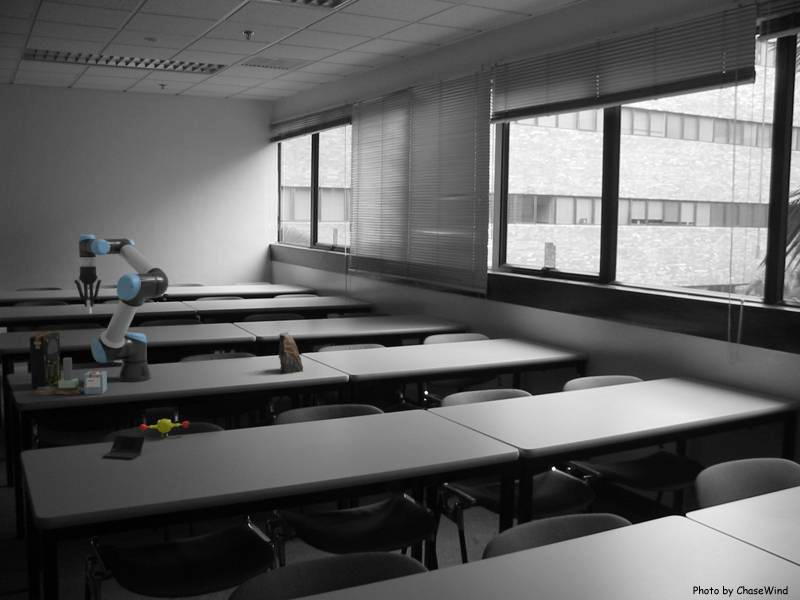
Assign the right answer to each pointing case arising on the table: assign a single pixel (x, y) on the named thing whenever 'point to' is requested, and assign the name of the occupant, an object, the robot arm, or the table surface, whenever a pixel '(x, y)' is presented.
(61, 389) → the rail bed
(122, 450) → the black laptop
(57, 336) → the black upright box
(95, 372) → the reset pin
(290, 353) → the brown rock
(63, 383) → the grey post stand
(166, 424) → the toy figure
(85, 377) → the gauge cabinet
